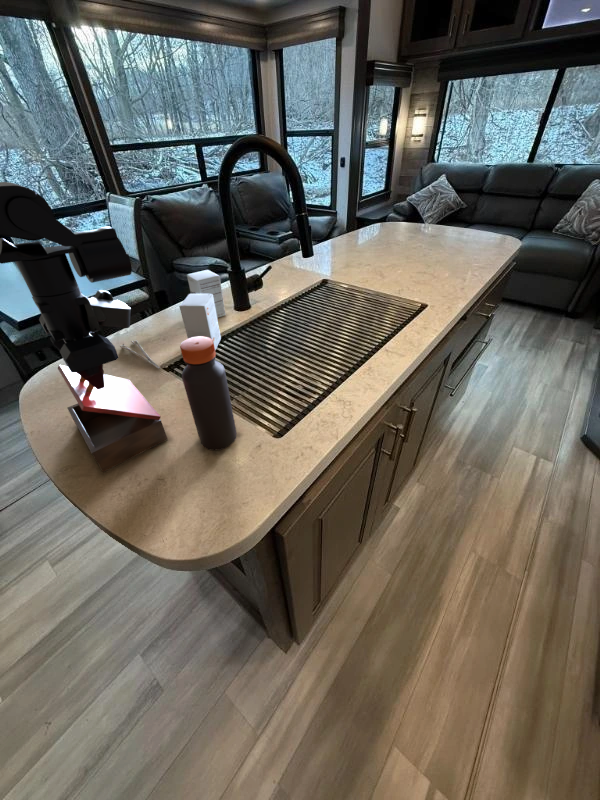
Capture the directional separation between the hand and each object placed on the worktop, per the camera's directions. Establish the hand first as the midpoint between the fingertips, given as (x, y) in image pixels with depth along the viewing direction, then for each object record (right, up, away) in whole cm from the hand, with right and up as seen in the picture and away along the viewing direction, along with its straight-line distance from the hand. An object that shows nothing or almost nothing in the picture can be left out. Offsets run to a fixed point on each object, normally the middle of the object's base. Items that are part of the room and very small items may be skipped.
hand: (96, 381), depth 56 cm
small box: (+9, +11, +34) cm, 37 cm away
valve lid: (+1, -2, +2) cm, 3 cm away
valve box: (0, -9, +8) cm, 12 cm away
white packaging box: (+6, +24, +50) cm, 55 cm away
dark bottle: (+19, -10, +6) cm, 23 cm away
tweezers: (-6, +8, +30) cm, 31 cm away
